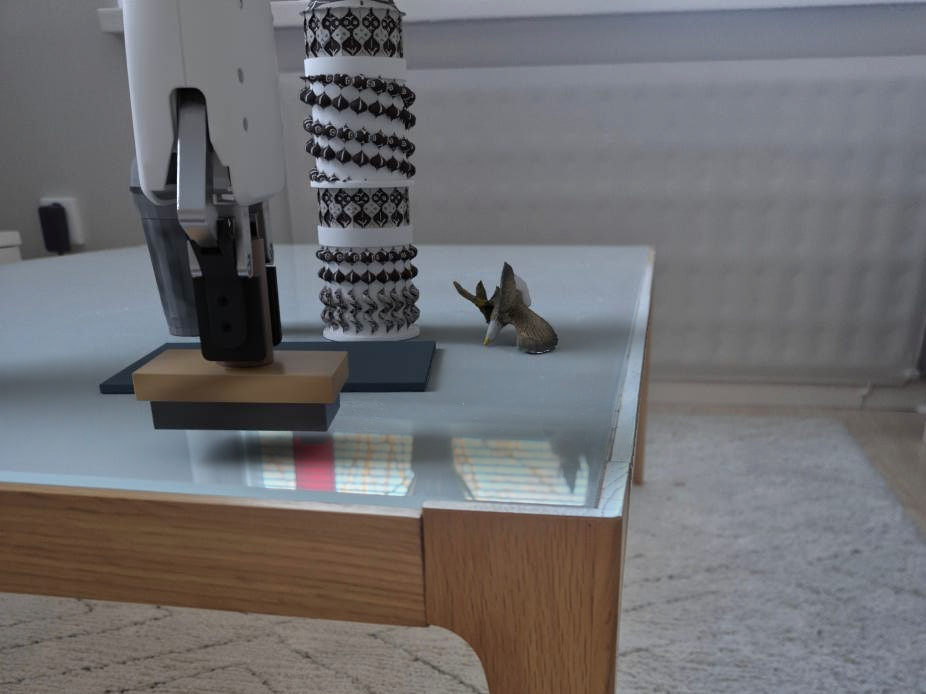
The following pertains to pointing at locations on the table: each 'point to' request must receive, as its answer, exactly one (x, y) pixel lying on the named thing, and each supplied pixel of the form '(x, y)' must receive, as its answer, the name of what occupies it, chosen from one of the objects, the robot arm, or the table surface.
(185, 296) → the beverage cup
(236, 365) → the brush
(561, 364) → the table surface
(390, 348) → the mat
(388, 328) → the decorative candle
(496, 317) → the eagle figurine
